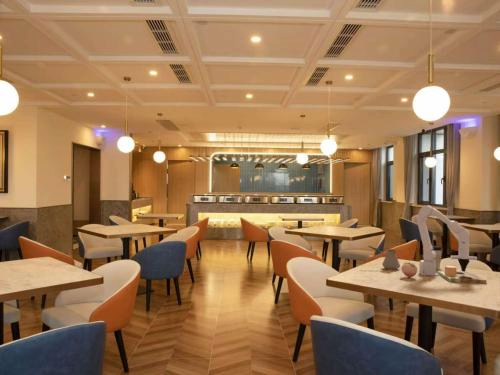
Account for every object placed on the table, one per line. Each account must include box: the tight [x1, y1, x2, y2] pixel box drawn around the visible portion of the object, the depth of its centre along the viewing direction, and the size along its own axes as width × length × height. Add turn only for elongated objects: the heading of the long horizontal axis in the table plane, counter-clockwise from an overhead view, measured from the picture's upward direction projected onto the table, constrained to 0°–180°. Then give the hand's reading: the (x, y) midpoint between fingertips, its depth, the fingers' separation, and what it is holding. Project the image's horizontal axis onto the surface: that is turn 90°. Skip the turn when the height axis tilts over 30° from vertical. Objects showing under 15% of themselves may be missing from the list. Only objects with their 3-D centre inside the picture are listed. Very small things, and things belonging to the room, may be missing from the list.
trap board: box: [437, 270, 487, 285], centre depth 244 cm, size 20×23×2 cm
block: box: [444, 265, 457, 276], centre depth 245 cm, size 5×5×5 cm
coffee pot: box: [367, 245, 401, 271], centre depth 273 cm, size 21×12×15 cm, turn 70°
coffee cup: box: [432, 245, 443, 270], centre depth 277 cm, size 9×9×15 cm
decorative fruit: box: [400, 261, 418, 278], centre depth 244 cm, size 9×8×10 cm
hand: (463, 271), depth 244 cm, fingers closed
